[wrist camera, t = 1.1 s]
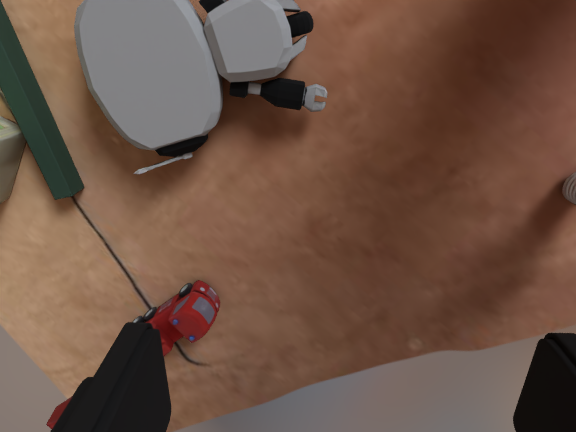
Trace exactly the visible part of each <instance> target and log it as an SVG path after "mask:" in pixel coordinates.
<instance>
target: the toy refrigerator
mask: <svg viewBox="0 0 576 432" xmlns="http://www.w3.org/2000/svg"><path fill="white" fill-rule="evenodd" d="M25 142H26V139H25V137H24V135H23V133H22V131H21V129H20V127H19V125H18V124H16V123H13V122H11V121H9V120H7V119H5V118H3V117H1V116H0V203H2V202H3V201H5V200H6V199H8V198H9V196H10V194H11V191H12V187H13V184H14V180H15V177H16V173H17V170H18V167H19V163H20V160H21V157H22V153H23V149H24V146H25Z"/></svg>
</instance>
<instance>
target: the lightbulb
mask: <svg viewBox="0 0 576 432" xmlns="http://www.w3.org/2000/svg"><path fill="white" fill-rule="evenodd" d="M562 191H563V195H564V197H565V198H566V199H567V200H568V201H570V202H572V203H573V204H575V205H576V172H575V173H573V174H572V175H570V176H569V177H568V178H567V179H566V181H565V183H564V185H563V190H562Z"/></svg>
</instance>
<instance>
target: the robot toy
mask: <svg viewBox="0 0 576 432" xmlns="http://www.w3.org/2000/svg"><path fill="white" fill-rule="evenodd" d="M226 1H227V0H200V1H199V3H200V4H201V5H202V6H203V8H204V9H205V10H206V11H207V12H208V15H207V18H206V21H205V25H204V24H203V22H202V20H201V18H200V16H199V15H198V13H197V12H196V10H195V9H194V7H193V5H192V4H191V3H190V1H189V0H84V1H83V2H82V4H81V5H80V6H79V7H78V8H77V12H76V18H75V25H74V29H75V39H76V45H77V50H78V56H79V59H80V62H81V66H82V69H83V72H84V76H85V79H86V82H87V86H88V89H89V91H90V92H91V94H92V96H93V97H94V99H95V100H96V102H97V103H98V105H99V107H100V108H101V110H102V111H103V113H104V114H105V116H106V118H107V119H108V120H109V122H110V123H111V124H112V125H113V127H114V128H115V129H116V130H117V132H118V133H119V134H120V135H121V136H122V137H123V138H124V139H125V140H127V141H128V142H130V143H131V144H132V145H134V146H135V147H137V148H138V149H147V150H155V151H156V152H157V153H158V154H159V156H172V157H175V158H172V159H169V160H166V161H163V162H160V163H157V164H155V165H152V166H149V167H146V168H145V167H144V168H141V169H138V170H137V171H136V172H135V173H134V174H142V173H144V172H147V171H148V170H151V169H154V168H157V167H159V166H162V165H165V164H168V163H171V162H174V161H177V160H179V159H182V158H184V159H187V158H190V157H193V156H192V153H191V152H194V151H196V150H197V149H198V148H200V147H201V146H202V145H203V144H204V143H205V142H206V141H207V139H208V132H209V131H210V130H211V129H212V128H213V127H215V126H216V124H217V122H218V121H219V117H220V114H221V111H222V107H223V86H222V78H221V76H223V77H224V78H225V79H227V80H228V81H229V82H231V83H230V94H229V95H230V96H235V97H242V98H245V97H246V96H247V95H248V93H250V94H256V95H260V96H262V97H263V98H264V99H266V100H267V101H268V102H270V103H271V104H273V105H274V106H277V107H283V108H289V109H296V110H300V109H301V107H302V105H303V106H304V107H305V108H307V109H308V110H309V111H311V112H316V111H321V110H322V109H323V108H324V107H325V104H326V102H317V101H314V98H315V95H318V96H322V97H325V98H327V91H326V89H325V87H322V86H320V85H318V84H314V85H311V86H308V87H305V82H303V81H297V80H291V79H285V78H277V79H274V80H270V81H267V82H265V83H262V84H260V83H254V82H249V81H254V80H260V79H265V78H271V77H275V76H276V75H278V74H279V73H280V72H282V71H283V70H285V69H286V67H287V65H288V63H289V61H290V60H291V59H293V58H294V57H295V56H296V55H298V54H299V53H300V52H302V51H303V50H304V48H305V43H306V38H307V35H305V36H303V37H302V38H300V39H299V40H298V41H297V42H295V43H294V44H293V45H292V38H293V37H296V36H299V35H303V34H306V33H309V32H311V31H312V29H313V19H312V16H311V15H310V13H308V12H307V11H303V12H299V11H300V10H301V9H300V8H299V7H298V5H297V4H296V3H295V2H294V0H229V1H227V2H226ZM284 11H287V12H299V13H296V14H293V15H290V16H287V17H286V15H285V12H284ZM177 156H178V157H177Z"/></svg>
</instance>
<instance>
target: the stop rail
mask: <svg viewBox="0 0 576 432" xmlns="http://www.w3.org/2000/svg"><path fill="white" fill-rule="evenodd" d="M0 87H1V90H2V92H3V94H4V96H5V98H6V100H7V102H8V104H9V106H10V108H11V110H12V112H13V114H14V116H15V118H16V120H17V122H18V125H19V127H20V129H21V131H22V133H23V135H24V137H25V139H26V141H27V143H28V145H29V147H30V149H31V151H32V153H33V155H34V157H35V160H36V162H37V164H38V166H39V168H40V170H41V172H42V174H43V176H44V178H45V180H46V182H47V184H48V186H49V188H50V190H51V192H52V195H53V197H54V199H55V200H57V199H62V198H66V197H71V196H73V195H75V194H76V193H77V192H79V191H80V190H82V189H83V188H84V185H83V183H82V181H81V178H80V176H79V174H78V172H77V169H76V167H75V165H74V163H73V160H72V158H71V156H70V154H69V152H68V149H67V147H66V145H65V143H64V140H63V138H62V136H61V134H60V132H59V129H58V127H57V125H56V123H55V120H54V118H53V116H52V114H51V111H50V109H49V107H48V105H47V103H46V100H45V98H44V96H43V94H42V91H41V89H40V87H39V85H38V83H37V80H36V78H35V76H34V74H33V71H32V69H31V67H30V65H29V62H28V60H27V58H26V56H25V54H24V51H23V49H22V47H21V45H20V42H19V40H18V38H17V36H16V34H15V31H14V29H13V27H12V25H11V22H10V20H9V18H8V16H7V13H6V11H5V9H4V7H3V5H2V2H1V0H0Z"/></svg>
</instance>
